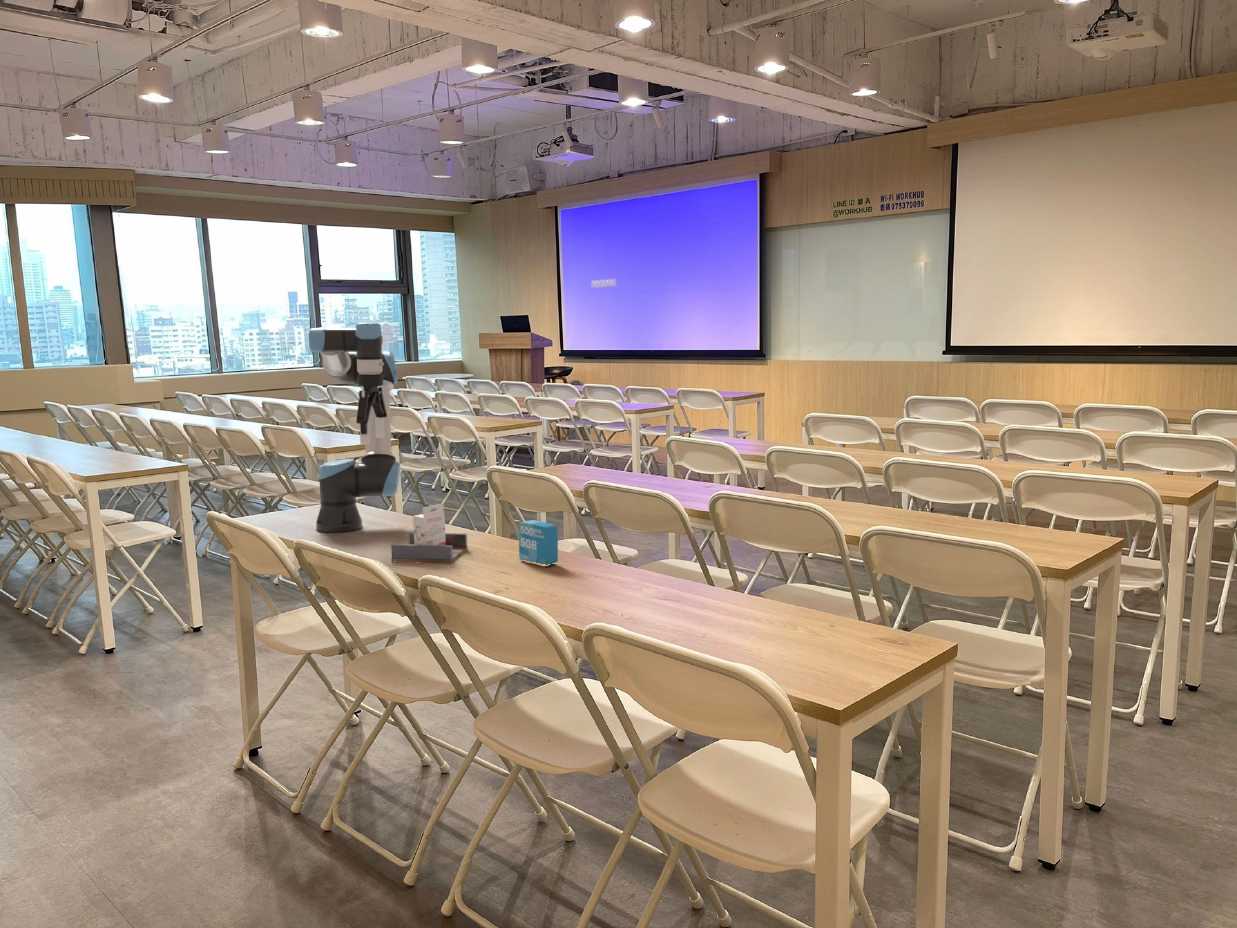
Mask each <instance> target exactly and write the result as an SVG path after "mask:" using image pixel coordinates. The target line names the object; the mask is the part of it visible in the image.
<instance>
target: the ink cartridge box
mask: <svg viewBox="0 0 1237 928" xmlns="http://www.w3.org/2000/svg"><path fill="white" fill-rule="evenodd" d="M433 509H435V510H433ZM444 509H445V508H444V503H439V504H438V503H436V504H434V505H429V506H424V507H422V514H421V513H420V514H416V515H413V516H412V522H413V523H412V524H413V532H414V544H415V545H446V542H445V533H446V522H445V521H446V519H445V515H446V514H445V511H444ZM432 510H433V511H432Z"/></svg>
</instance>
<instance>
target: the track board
mask: <svg viewBox="0 0 1237 928" xmlns="http://www.w3.org/2000/svg"><path fill="white" fill-rule="evenodd" d="M408 536H409V537H408V538H409V539H408V541H409V543H402V544H401V543H392V544H391V545H390V546H391V547H390V548H391V549H390V550H391V558H390V561H396V562H395V563H406V562H420V563H419V564H440V565H441V564H443V565H446V564H447V565H451V564H452V563H453V562H455V561H456V560H457V559H458V558H459V557H461V555H463V554H464V553H465V552H467V550H468V549H469V546H468V534H467V533H456V532H455V533H451V532H445V542H446V545H415V544H414V531H411V532H409V533H408ZM466 549H467V550H466ZM464 551H465V552H464ZM462 553H463V554H462Z"/></svg>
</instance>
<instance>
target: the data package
mask: <svg viewBox="0 0 1237 928" xmlns="http://www.w3.org/2000/svg"><path fill="white" fill-rule="evenodd" d="M558 534H559V533H558V527H557V525H555V524H554V523H549V522H544V521H540V520H534V519H530V520H526V521H521V522H520V523H519V524H518V557H519V560H520V561H521V560H526V561H530V562H536V563H540V564H546V565H548V564H552V563H555V562H557V563H558V560H559V546H558V545H559V537H558Z"/></svg>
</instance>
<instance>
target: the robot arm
mask: <svg viewBox="0 0 1237 928" xmlns="http://www.w3.org/2000/svg"><path fill="white" fill-rule="evenodd" d="M383 341H384V340H383V334H382V326H381V324H380V323H379V322H357V323H356V325H355V327H353V328H352V327H341V328H340V327H316V328H315V327H314V328H313V327H312V328H310V329H309V331H308V346H309V350H310V352H313V353H318V354H319V353H320V355H321V358H322V360H321V362H322V368H323V370H324V371H325V373H326V374H327V375H328V377H329V376H330V377H331V378H333V379H334V380H336V381H338V382H341V383H345V384H349V385H351V384H352V385H353V384H354V385H358V386H359V387H360V389H361V390H359V392H358V394H359V396H358V397H359V399H358V405H357V406H358V407H357V413H356V414H357V415H356V420H355V422H356V424H359V437H360V438H359V439H360V445H361V446H362V445H364V446H365V454H363V456H362V457H361V458H360V459H361V460H360V461H361V462H360V463H358V462H356V461H355V460H354V459H353V458H344V459H343V458H342V459H337V460H331V461H328V462H325V463H323V464H321V465H319V468H318V470H319V471H318V473H319V474H318V475H319V477H318V481H319V497H320V498H319V500H320V501H319V503H320V507H319V508H320V509H319V512H318V515H317V518H316V522H315V523H316V524H315V529H316V531H319V532H323V533H345V532H351V531H356V530H359V529H361V528H362V527H363V520H362V517H361V515H360V512H359V510H358V509H359V508H358V507H357V498H368V497H369V498H371V497H374V498H375V497H382V498H383V497H391V496H392V497H393V496H394V495H396V494H397V493H398V489H399V486H400V485H399V483H400V472H401V471H400V470H401V463H400V462H399V461H396V456H395V455H394V454H393V453H392V442H391V441H392V438H391V437H392V435H391V406H390V400H391V399H390V392H391V391H393V389H394V387H395V384H397V383H398V375H397V374H398V372H397V366H396V361H395V356H394V354H393V352H391V351H385V350H384V351H383V350H382V349H383V348H382V347H383V346H382V345H383Z"/></svg>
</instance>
